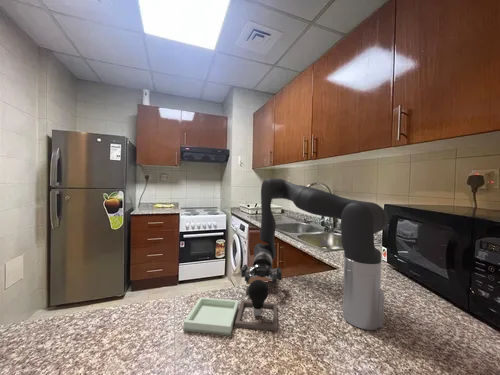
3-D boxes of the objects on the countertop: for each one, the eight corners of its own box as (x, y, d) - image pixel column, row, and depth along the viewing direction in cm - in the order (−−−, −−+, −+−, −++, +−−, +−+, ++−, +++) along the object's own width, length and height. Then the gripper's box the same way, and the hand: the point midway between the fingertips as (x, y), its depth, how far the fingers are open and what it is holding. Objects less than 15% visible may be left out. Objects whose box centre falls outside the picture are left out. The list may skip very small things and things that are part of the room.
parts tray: (238, 308, 63) (238, 300, 63) (230, 335, 51) (230, 326, 51) (200, 304, 64) (200, 297, 64) (183, 330, 52) (183, 321, 52)
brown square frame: (276, 306, 64) (276, 303, 64) (277, 331, 53) (277, 327, 53) (241, 303, 65) (241, 300, 65) (234, 326, 54) (235, 322, 54)
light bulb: (266, 324, 56) (267, 286, 56) (245, 320, 57) (246, 284, 57) (268, 311, 61) (269, 277, 61) (249, 308, 62) (250, 275, 63)
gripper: (245, 253, 85) (239, 267, 69) (280, 255, 83) (282, 271, 67) (245, 271, 85) (238, 290, 69) (280, 274, 83) (281, 294, 67)
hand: (260, 280), depth 68 cm, fingers open, 8 cm apart
